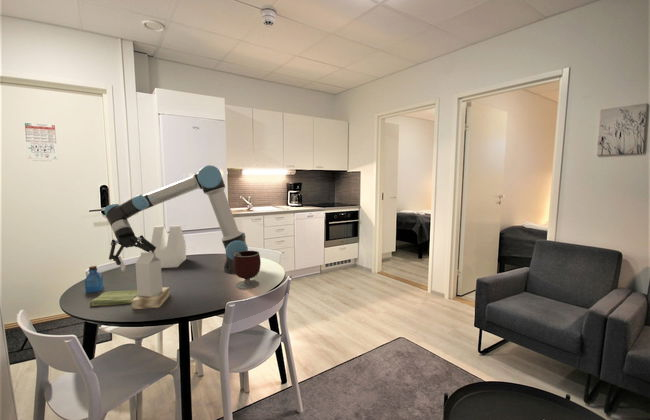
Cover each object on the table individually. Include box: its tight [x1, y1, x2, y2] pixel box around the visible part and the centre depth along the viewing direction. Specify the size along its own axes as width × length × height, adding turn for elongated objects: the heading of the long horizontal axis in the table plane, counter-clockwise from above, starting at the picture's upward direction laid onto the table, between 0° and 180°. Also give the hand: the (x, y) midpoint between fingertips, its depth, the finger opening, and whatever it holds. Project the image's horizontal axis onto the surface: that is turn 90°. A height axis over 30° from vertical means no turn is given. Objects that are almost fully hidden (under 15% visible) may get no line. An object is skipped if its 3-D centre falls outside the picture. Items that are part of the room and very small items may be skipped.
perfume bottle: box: [84, 265, 104, 294], centre depth 153 cm, size 6×6×12 cm
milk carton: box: [134, 252, 163, 297], centre depth 138 cm, size 7×7×19 cm
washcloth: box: [89, 289, 138, 307], centre depth 142 cm, size 13×18×3 cm
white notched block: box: [150, 225, 187, 269], centre depth 200 cm, size 19×15×25 cm
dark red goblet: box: [231, 250, 262, 290], centre depth 159 cm, size 16×14×20 cm
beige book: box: [131, 286, 171, 310], centre depth 139 cm, size 11×14×4 cm
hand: (140, 266), depth 143 cm, fingers open, 13 cm apart
